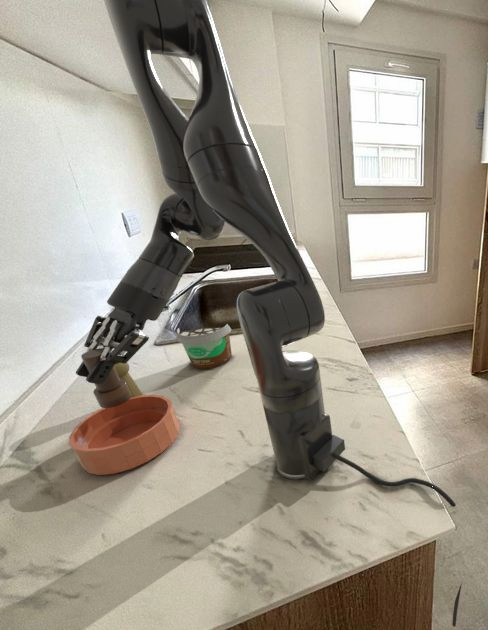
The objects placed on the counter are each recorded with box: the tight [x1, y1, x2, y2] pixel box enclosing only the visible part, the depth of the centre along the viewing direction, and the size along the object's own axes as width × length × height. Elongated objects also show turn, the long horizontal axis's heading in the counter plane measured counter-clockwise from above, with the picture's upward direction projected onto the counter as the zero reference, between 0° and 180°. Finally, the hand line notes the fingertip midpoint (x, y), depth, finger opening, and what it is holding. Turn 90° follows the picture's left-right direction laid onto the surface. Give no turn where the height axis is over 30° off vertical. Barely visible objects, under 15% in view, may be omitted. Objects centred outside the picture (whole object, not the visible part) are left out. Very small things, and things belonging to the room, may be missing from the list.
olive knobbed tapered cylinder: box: [114, 362, 144, 398], centre depth 70 cm, size 6×6×11 cm
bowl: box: [68, 394, 181, 476], centre depth 61 cm, size 14×14×6 cm
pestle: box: [80, 348, 131, 409], centre depth 58 cm, size 4×4×10 cm
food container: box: [176, 323, 233, 370], centre depth 84 cm, size 12×6×10 cm, turn 105°
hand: (88, 378), depth 56 cm, fingers closed on pestle, 3 cm apart
